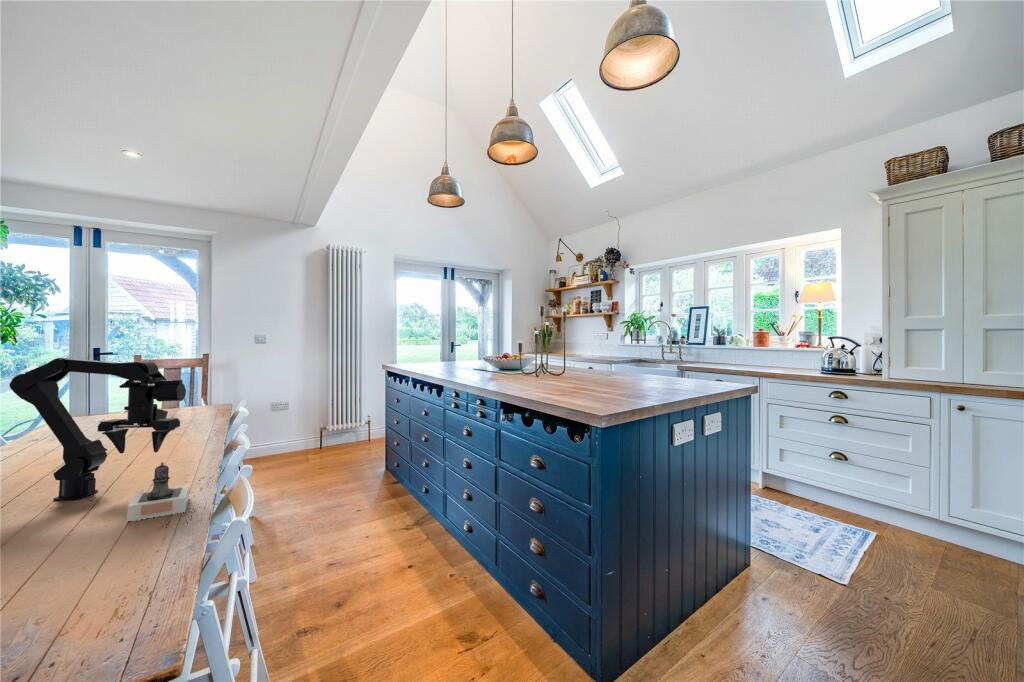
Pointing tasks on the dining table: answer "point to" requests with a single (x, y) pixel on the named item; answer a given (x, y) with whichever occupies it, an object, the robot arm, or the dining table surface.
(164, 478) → the dark chess piece
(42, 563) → the dining table surface
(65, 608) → the dining table surface
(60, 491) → the robot arm
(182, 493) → the tagged holder
